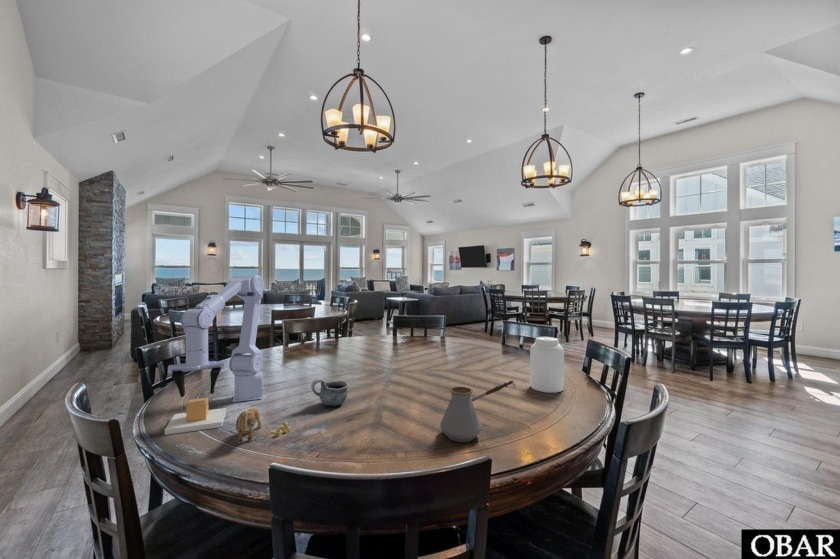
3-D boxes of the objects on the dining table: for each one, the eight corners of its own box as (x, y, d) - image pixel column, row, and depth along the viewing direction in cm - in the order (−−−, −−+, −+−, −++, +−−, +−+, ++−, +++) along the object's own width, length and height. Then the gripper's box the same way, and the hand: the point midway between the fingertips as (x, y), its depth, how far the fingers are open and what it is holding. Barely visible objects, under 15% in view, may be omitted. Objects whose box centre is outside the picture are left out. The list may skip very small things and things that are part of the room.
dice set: (286, 428, 108) (286, 422, 108) (294, 434, 104) (294, 427, 104) (269, 433, 104) (269, 427, 104) (276, 439, 101) (276, 432, 101)
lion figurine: (256, 447, 95) (256, 412, 95) (233, 450, 93) (233, 415, 93) (262, 424, 109) (262, 394, 109) (242, 427, 107) (242, 396, 107)
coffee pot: (444, 446, 96) (444, 389, 96) (436, 428, 107) (437, 377, 107) (522, 442, 99) (523, 386, 98) (507, 424, 110) (507, 374, 110)
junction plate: (226, 412, 118) (226, 397, 118) (221, 427, 107) (221, 410, 107) (174, 418, 113) (174, 402, 113) (164, 434, 102) (164, 417, 102)
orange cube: (208, 413, 113) (208, 397, 113) (206, 419, 109) (205, 402, 109) (189, 416, 111) (189, 399, 111) (186, 422, 107) (186, 405, 107)
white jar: (570, 389, 143) (570, 338, 143) (550, 395, 136) (550, 341, 136) (543, 381, 154) (543, 334, 153) (523, 386, 146) (523, 337, 146)
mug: (353, 404, 126) (353, 375, 126) (321, 414, 117) (321, 383, 117) (337, 397, 133) (337, 370, 133) (306, 407, 124) (306, 377, 123)
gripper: (164, 353, 103) (165, 401, 104) (223, 349, 109) (223, 395, 109) (171, 348, 110) (171, 394, 110) (225, 345, 115) (226, 388, 116)
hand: (197, 394), depth 110 cm, fingers open, 7 cm apart
